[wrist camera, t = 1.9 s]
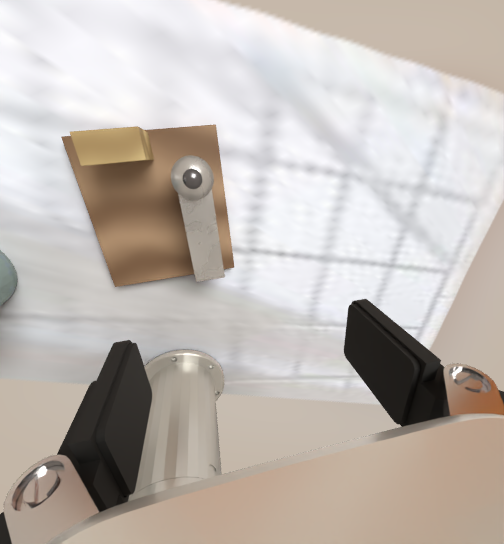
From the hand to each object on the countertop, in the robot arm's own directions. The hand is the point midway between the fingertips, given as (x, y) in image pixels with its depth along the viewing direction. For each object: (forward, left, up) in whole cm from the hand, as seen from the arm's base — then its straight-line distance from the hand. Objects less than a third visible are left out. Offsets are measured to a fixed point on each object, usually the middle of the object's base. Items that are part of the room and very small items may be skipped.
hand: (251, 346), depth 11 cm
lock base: (+3, +6, -22) cm, 22 cm away
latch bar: (+2, +2, -19) cm, 20 cm away
